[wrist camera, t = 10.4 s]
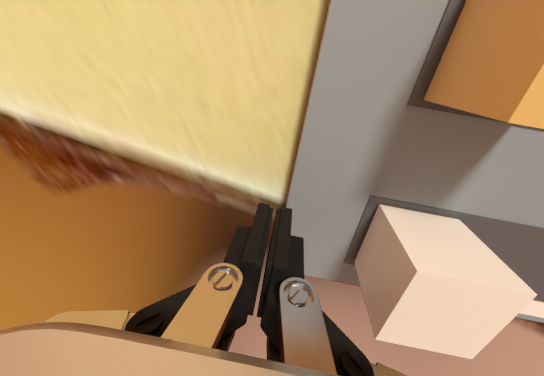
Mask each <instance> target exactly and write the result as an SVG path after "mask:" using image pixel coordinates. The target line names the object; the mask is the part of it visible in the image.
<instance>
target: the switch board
mask: <svg viewBox="0 0 544 376" xmlns="http://www.w3.org/2000/svg"><path fill="white" fill-rule="evenodd" d="M465 2H466V0H330V2H329V6H328V11H327V16H326V20H325V25H324V30H323V34H322V39H321V44H320V48H319V53H318V58H317V62H316V67H315V72H314V76H313V81H312V85H311V90H310V95H309V99H308V104H307V109H306V113H305V118H304V123H303V127H302V132H301V137H300V141H299V146H298V151H297V155H296V160H295V164H294V169H293V174H292V178H291V183H290V188H289V192H288V197H287V202H286V206H285V208H290V209H292V222H291V235H292V236H297V237H302V238H303V239H304V275H306V276H311V277H316V278H321V279H326V280H332V281H336V282H342V283H346V284H352V285H357V286H360V282H359V278H358V274H357V271H356V267H355V263H354V261H355V259H356V257H357V254H358V252H359V250H360V248H361V245H362V243H363V241H364V238H365V236H366V234H367V231H368V229H369V227H370V224H371V222H372V220H373V218H374V215H375V213H376V211H377V208H378V206H379V204H381V205H386V206H391V207H396V208H402V209H407V210H412V211H417V212H423V213H428V214H433V215H439V216H444V217H449V218H454V219H459V220H460V221H461V222H462V223H463V224H464V225H466V226H467V227H468V228H469V229H470V230H471V231H472V232H473V233H474V234H475V235H476V236H477V237H478V238H479V239H480V240H481V241H482V242H483V243H484V244H485V245H486V246H487V247H488V248H489V249H490V250H491V251H492V252H494V253H495V254H496V255H497V256H498V257H499V258H500V259H501V260H502V261H503V262H504V263H505V264H506V265H507V266H508V267H509V268H510V269H511V270H512V271H513V272H514V273H515V274H516V275H517V276H518V277H519V278H520V279H522V280H523V281H524V282H525V283H526V284H527V285H528V286H529V287H530V288H531V289H532V290H533V291H534V292H535V293H536V294H537V296H536V297H535V298H534V299H533V300H532V301H531V302H530V303H529V304H528V305H527V306H526V307H525V308H524V309H522V310H521V311H520V312H519V313H518V314H517V315H516V316H515V317H517V318H522V319H527V320H532V321H537V322H542V323H544V129H541V128H535V127H530V126H524V125H518V124H513V123H507V122H504V121H500V120H496V119H492V118H489V117H485V116H481V115H478V114H474V113H470V112H466V111H463V110H459V109H455V108H451V107H448V106H444V105H440V104H437V103H433V102H429V101H425V100H424V97H425V95H426V93H427V91H428V88H429V86H430V84H431V81H432V79H433V77H434V74H435V72H436V70H437V67H438V65H439V63H440V60H441V58H442V56H443V53H444V51H445V49H446V47H447V44H448V42H449V40H450V37H451V35H452V33H453V30H454V28H455V26H456V23H457V21H458V19H459V16H460V14H461V12H462V9H463V7H464V5H465Z"/></svg>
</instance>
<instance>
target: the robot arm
mask: <svg viewBox="0 0 544 376" xmlns="http://www.w3.org/2000/svg"><path fill="white" fill-rule="evenodd" d="M272 213H273V208H270V205H269V204H264V203H259V205H258V208H257V211H256V214H255V218H254V221H253V224H252V227H246V226H242V225H238V227H237V230H236V232H235V234H234V237H233V240H232V242H231V244H230V247H229V249H228V252H227V254H226V257H225V259H224V262H223V263H219V264H216V265H213V266H212V267H210V268H209V269H208V270H207V271H206V272H205V274H204V275H203V276H202V278H201V279H200V281H199V282H198V284H196V285H194V286H192V287H190V288H187V289H185V290H183V291H181V292H178V293H176V294H174V295H172V296H170V297H167V298H165V299H163V300H161V301H158V302H156V303H154V304H152V305H150V306H147V307H145V308H143V309H141V310H140V311H138V312H137V313H129V310H115V311H70V312H65V313H60V314H58V315H56V316H53V317H51V318H50V319H48V320H47V321H45V322H44V323H36V324H28V325H23V326H16V327H11V328H7V329H3V330H0V376H407V375H404V374H402V373H400V372H398V371H396V370H393V369H391V368H389V367H387V366H385V365H382V364H380V363H378V362H377V363H376V364H373V363H370V362H369V361H368V359H367V358H366V356H365V355H364V354H363V353H362V352H361V351H360V350H359V349H358V348H357V346H356V345H354V343H353V342H352V341H351V340H350V339H349V338H348V337H347V336H346V335H345V334H344V333H343V332H342V331H341V330H340V329H339V328H338V327H337V326H336V325H335V323H334V322H333V321H331V319H330V318H329V317H328V316H327V315H326V314H325V313H324V312H323V311H322V310H321V306H320V301H319V297H318V294H317V291H316V289H315V288H314V287H313V285H312V284H310V283H309V282H308V281H306V280H304V239H303V238H302V237H297V236H292V235H291V222H292V209H290V208H285V207H281V210H280V209H277V211H276V216H275V221H274V226H273V231H272V236H271V241H270V246H269V251H268V257H267V262H266V267H265V273H264V279H263V284H262V290H261V295H260V301H259V306H258V312H257V317H261V318H262V319H261V324H260V326H261V328H262V330H263V331H264V332H265V334H266V335H267V360H265V359H260V358H256V357H251V356H246V355H242V354H237V353H232V352H228V350H229V347H230V345H231V342H232V340H233V337H234V334H235V330H237V329H238V328H240V327H241V326H243V325H245V323H246V320H247V316H248V315H252V316H253V311H254V306H255V301H256V296H257V291H258V285H259V281H260V276H261V270H262V265H263V260H264V255H265V250H266V245H267V239H268V234H269V229H270V224H271V219H272Z"/></svg>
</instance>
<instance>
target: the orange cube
mask: <svg viewBox="0 0 544 376" xmlns="http://www.w3.org/2000/svg"><path fill="white" fill-rule="evenodd" d="M424 100H425V101H429V102H433V103H437V104H440V105H444V106H448V107H451V108H455V109H459V110H463V111H466V112H470V113H474V114H478V115H481V116H485V117H489V118H492V119H496V120H500V121H504V122H507V123H513V124H518V125H524V126H530V127H535V128H541V129H544V0H466V2H465V5H464V7H463V9H462V12H461V14H460V16H459V19H458V21H457V23H456V26H455V28H454V30H453V33H452V35H451V37H450V40H449V42H448V44H447V47H446V49H445V51H444V53H443V56H442V58H441V60H440V63H439V65H438V67H437V70H436V72H435V74H434V77H433V79H432V81H431V84H430V86H429V88H428V91H427V93H426V95H425V97H424Z"/></svg>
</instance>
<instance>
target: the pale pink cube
mask: <svg viewBox="0 0 544 376" xmlns="http://www.w3.org/2000/svg"><path fill="white" fill-rule="evenodd" d="M354 263H355V267H356V271H357V274H358V278H359V282H360V286H361V289H362V293H363V297H364V300H365V304H366V308H367V311H368V315H369V318H370V322H371V326H372V329H373V333H374V337H375V339H376V340H380V341H385V342H390V343H395V344H400V345H405V346H410V347H415V348H420V349H425V350H429V351H434V352H439V353H444V354H449V355H454V356H459V357H463V358H468V359H472V358H473V357H475V356H476V355H477V354H478V353H479V352H480V350H482V349H483V348H484V347H485V346H486V345H487V344H488V343H489V342H490V341H491V340H492V339H493V338H494V337H495V336H496V335H497V334H498V333H499V332H500V331H501V330H502V329H503V328H504V327H505V326H506V325H507V324H508V323H509V322H510V321H511V320H512V319H513V318H514V317H515V316H516V315H517V314H518V313H519V312H520V311H521V310H522V309H524V308H525V307H526V306H527V305H528V304H529V303H530V302H531V301H532V300H533V299H534V298H535V297H536V296H537V294H536V293H535V292H534V291H533V290H532V289H531V288H530V287H529V286H528V285H527V284H526V283H525V282H524V281H523V280H522V279H520V278H519V277H518V276H517V275H516V274H515V273H514V272H513V271H512V270H511V269H510V268H509V267H508V266H507V265H506V264H505V263H504V262H503V261H502V260H501V259H500V258H499V257H498V256H497V255H496V254H495V253H494V252H492V251H491V250H490V249H489V248H488V247H487V246H486V245H485V244H484V243H483V242H482V241H481V240H480V239H479V238H478V237H477V236H476V235H475V234H474V233H473V232H472V231H471V230H470V229H469V228H468V227H467V226H466V225H464V224H463V223H462V222H461V221H460V220H459V219H454V218H449V217H444V216H439V215H433V214H428V213H423V212H417V211H412V210H407V209H402V208H396V207H391V206H386V205H381V204H379V206H378V208H377V211H376V213H375V215H374V218H373V220H372V222H371V224H370V227H369V229H368V231H367V234H366V236H365V238H364V241H363V243H362V245H361V248H360V250H359V252H358V254H357V257H356V259H355V261H354Z"/></svg>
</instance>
